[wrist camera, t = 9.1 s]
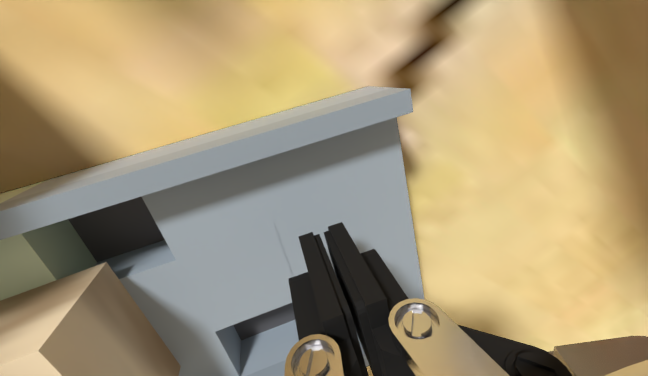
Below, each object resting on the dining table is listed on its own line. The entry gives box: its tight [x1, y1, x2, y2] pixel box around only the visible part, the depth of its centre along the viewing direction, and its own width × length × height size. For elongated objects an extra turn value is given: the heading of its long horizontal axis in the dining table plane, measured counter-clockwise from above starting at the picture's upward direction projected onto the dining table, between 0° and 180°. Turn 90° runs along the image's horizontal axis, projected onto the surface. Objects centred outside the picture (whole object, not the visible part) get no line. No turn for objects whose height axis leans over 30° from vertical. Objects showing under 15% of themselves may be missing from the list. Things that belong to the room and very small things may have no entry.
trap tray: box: [0, 86, 424, 376], centre depth 12 cm, size 19×12×6 cm, turn 105°
